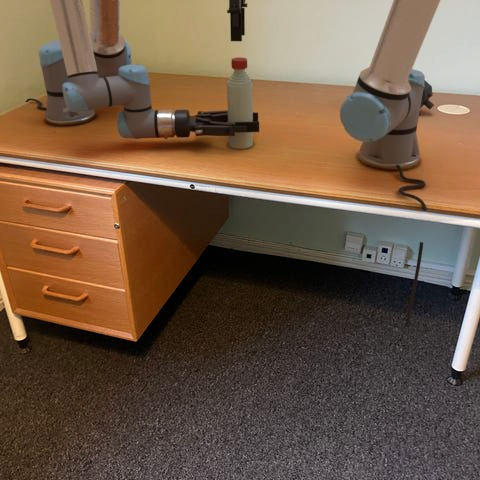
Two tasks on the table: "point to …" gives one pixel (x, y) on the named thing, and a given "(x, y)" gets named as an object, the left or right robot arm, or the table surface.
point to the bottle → (240, 107)
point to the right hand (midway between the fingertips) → (237, 37)
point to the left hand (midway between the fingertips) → (258, 122)
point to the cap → (239, 63)
